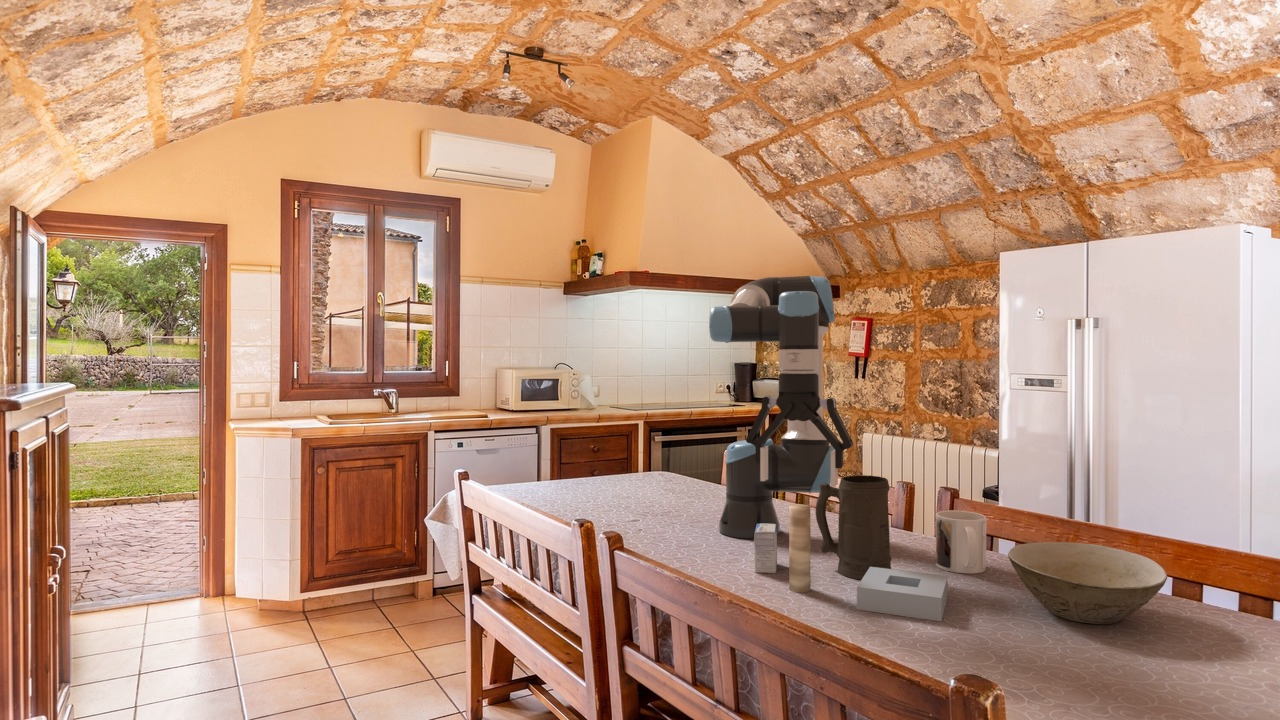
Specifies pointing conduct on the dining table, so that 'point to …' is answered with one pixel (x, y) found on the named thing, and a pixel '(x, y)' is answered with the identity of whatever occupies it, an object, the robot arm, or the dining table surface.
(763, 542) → the medicine box
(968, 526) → the mug
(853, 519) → the beer stein
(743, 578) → the dining table surface
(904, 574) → the socket block
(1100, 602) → the bowl
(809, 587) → the beech peg
